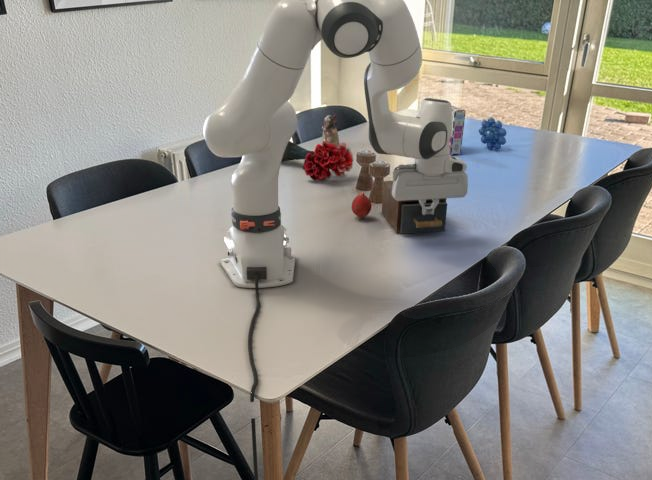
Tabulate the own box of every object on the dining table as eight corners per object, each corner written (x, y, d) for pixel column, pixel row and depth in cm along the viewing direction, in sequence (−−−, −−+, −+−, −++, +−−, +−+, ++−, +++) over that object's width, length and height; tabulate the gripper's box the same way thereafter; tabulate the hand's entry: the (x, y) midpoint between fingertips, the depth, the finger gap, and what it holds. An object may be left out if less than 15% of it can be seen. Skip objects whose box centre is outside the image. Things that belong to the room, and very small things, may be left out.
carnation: (277, 183, 259) (349, 198, 238) (246, 157, 244) (321, 172, 223) (294, 145, 260) (368, 157, 239) (264, 117, 245) (340, 128, 224)
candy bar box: (461, 154, 267) (466, 110, 259) (450, 155, 265) (455, 111, 257) (445, 147, 276) (449, 104, 267) (435, 148, 274) (438, 105, 266)
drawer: (450, 237, 191) (453, 209, 187) (406, 240, 189) (408, 212, 185) (427, 212, 209) (430, 186, 205) (386, 214, 207) (388, 188, 202)
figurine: (318, 144, 277) (318, 113, 270) (335, 143, 279) (336, 112, 272) (323, 149, 271) (323, 117, 265) (341, 148, 273) (341, 116, 267)
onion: (347, 219, 205) (348, 193, 201) (356, 213, 209) (357, 187, 205) (365, 223, 203) (366, 196, 199) (374, 217, 207) (375, 190, 203)
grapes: (472, 149, 274) (475, 117, 268) (479, 145, 279) (483, 114, 273) (499, 154, 268) (504, 121, 262) (507, 150, 273) (511, 118, 267)
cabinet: (443, 230, 198) (446, 196, 193) (396, 233, 196) (398, 199, 191) (425, 210, 213) (428, 178, 207) (381, 213, 210) (383, 181, 205)
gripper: (396, 168, 178) (393, 220, 185) (472, 164, 181) (467, 216, 189) (390, 161, 183) (387, 212, 191) (464, 158, 187) (459, 208, 194)
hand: (427, 214), depth 190 cm, fingers closed
